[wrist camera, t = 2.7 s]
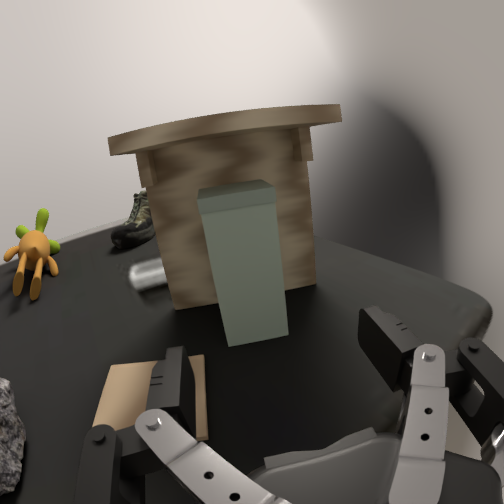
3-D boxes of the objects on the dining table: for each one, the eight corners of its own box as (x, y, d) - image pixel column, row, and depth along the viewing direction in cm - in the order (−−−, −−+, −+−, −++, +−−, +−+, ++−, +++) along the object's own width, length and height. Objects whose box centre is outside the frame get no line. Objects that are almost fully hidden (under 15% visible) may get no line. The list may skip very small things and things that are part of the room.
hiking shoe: (102, 253, 53) (91, 208, 50) (153, 221, 73) (146, 185, 69) (136, 251, 52) (124, 202, 48) (182, 218, 71) (175, 180, 67)
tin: (227, 347, 23) (196, 199, 19) (223, 314, 28) (198, 189, 24) (290, 335, 24) (275, 187, 19) (276, 304, 29) (261, 179, 24)
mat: (91, 443, 14) (88, 439, 14) (113, 368, 22) (111, 365, 21) (208, 439, 15) (206, 436, 15) (204, 358, 22) (203, 354, 22)
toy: (55, 339, 40) (54, 268, 62) (73, 264, 38) (69, 215, 61) (-12, 322, 32) (10, 254, 54) (-1, 240, 30) (24, 199, 53)
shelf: (168, 363, 22) (107, 137, 16) (176, 305, 31) (139, 140, 25) (349, 327, 23) (339, 104, 17) (312, 279, 32) (298, 116, 26)
